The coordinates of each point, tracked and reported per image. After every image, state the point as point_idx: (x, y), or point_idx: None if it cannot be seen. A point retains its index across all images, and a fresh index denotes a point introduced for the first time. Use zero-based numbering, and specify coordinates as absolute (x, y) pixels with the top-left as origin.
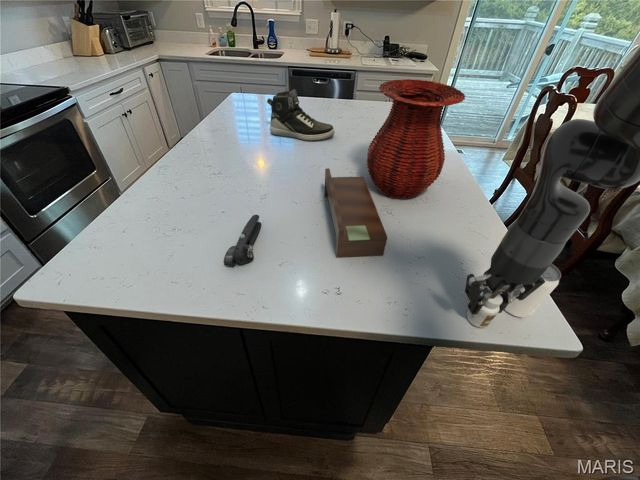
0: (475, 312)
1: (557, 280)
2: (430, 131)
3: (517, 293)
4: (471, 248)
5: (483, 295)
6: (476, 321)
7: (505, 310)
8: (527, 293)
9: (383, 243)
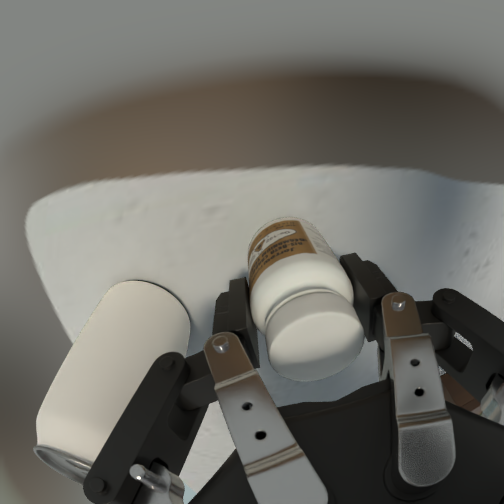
0: (360, 260)
1: (39, 441)
2: None
3: (238, 413)
4: (230, 436)
5: (362, 346)
6: (318, 233)
7: (175, 299)
8: (151, 402)
9: (459, 400)
